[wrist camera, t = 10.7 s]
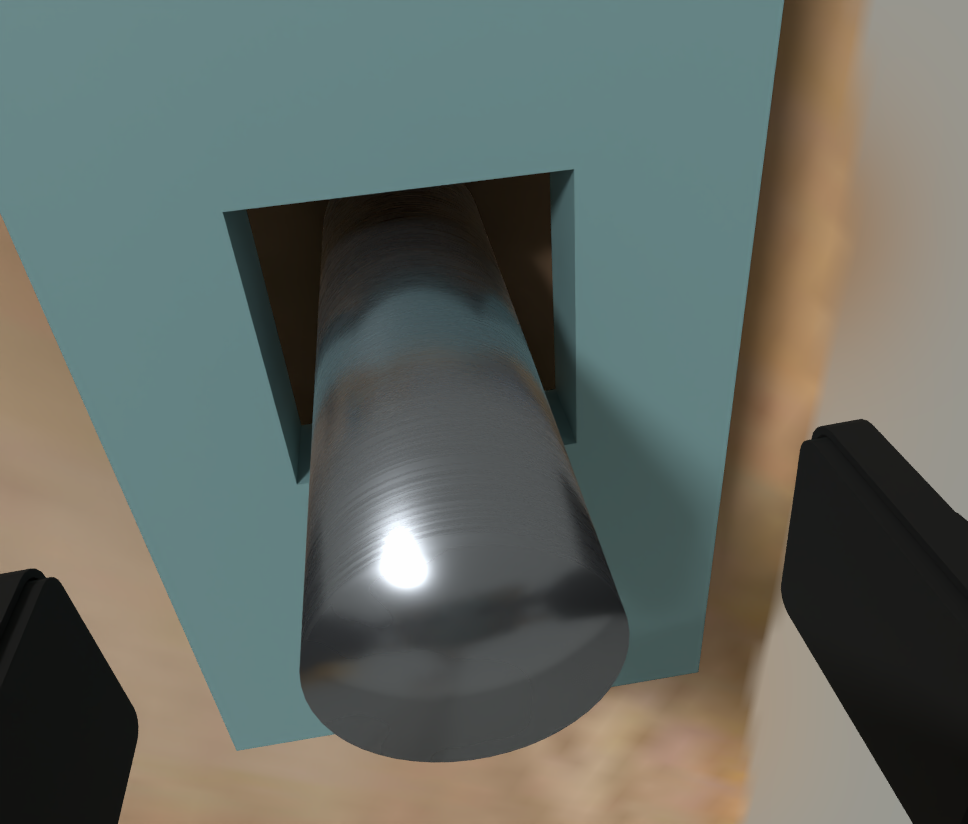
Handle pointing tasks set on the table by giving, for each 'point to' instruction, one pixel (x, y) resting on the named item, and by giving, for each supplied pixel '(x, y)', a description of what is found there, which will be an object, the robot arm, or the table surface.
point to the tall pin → (441, 501)
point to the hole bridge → (367, 170)
